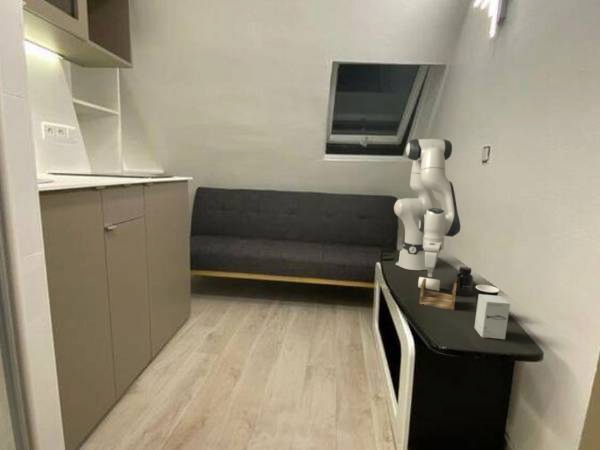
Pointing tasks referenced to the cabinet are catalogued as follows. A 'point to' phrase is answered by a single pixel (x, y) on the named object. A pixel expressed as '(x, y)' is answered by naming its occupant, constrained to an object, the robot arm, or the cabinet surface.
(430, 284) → the paper roll
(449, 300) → the holder
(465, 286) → the supplement bottle
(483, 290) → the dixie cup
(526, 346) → the cabinet surface
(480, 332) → the supplement box
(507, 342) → the cabinet surface
